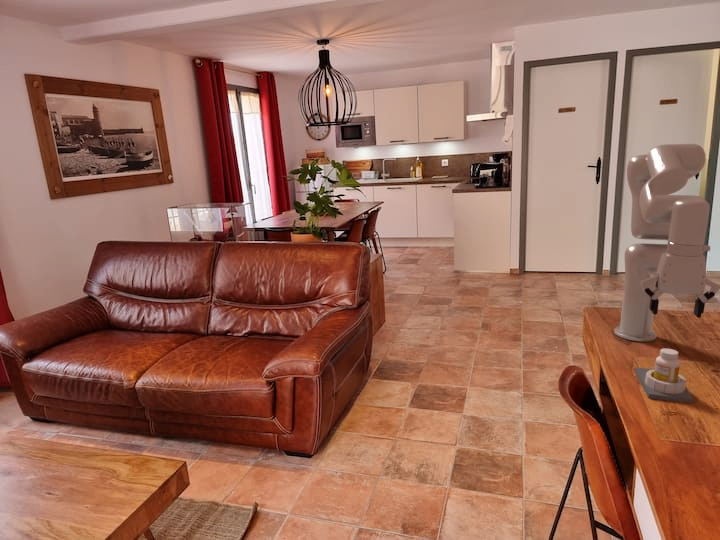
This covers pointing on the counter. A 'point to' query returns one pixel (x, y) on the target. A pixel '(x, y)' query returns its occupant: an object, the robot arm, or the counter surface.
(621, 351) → the counter surface
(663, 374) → the supplement bottle
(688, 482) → the counter surface
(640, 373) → the collar board
